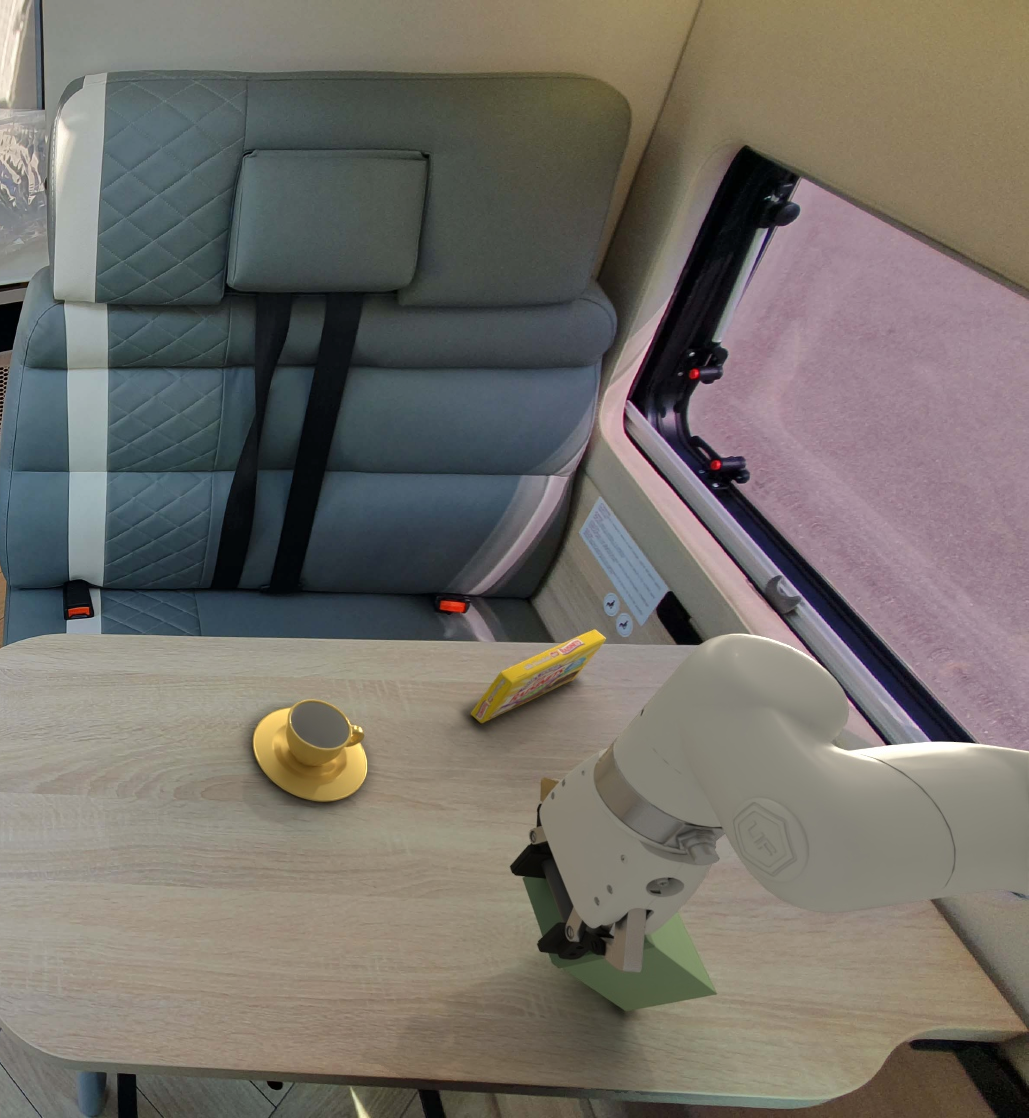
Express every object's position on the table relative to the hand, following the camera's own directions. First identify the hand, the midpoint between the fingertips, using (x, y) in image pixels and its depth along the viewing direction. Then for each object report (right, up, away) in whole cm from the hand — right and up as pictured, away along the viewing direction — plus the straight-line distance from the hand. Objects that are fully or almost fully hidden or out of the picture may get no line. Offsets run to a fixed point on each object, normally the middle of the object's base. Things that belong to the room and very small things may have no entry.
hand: (543, 909), depth 65 cm
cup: (-12, +7, +22) cm, 26 cm away
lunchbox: (+12, -6, +4) cm, 13 cm away
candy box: (+15, +12, +28) cm, 34 cm away
